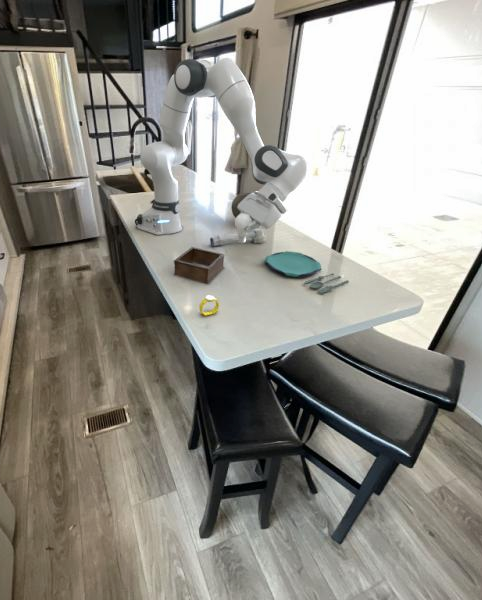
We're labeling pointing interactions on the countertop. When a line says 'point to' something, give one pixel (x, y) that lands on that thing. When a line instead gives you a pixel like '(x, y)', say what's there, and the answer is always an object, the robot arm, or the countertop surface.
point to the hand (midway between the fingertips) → (241, 227)
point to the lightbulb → (242, 226)
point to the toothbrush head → (255, 234)
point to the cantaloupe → (237, 201)
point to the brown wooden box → (196, 271)
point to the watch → (209, 299)
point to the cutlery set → (299, 268)
